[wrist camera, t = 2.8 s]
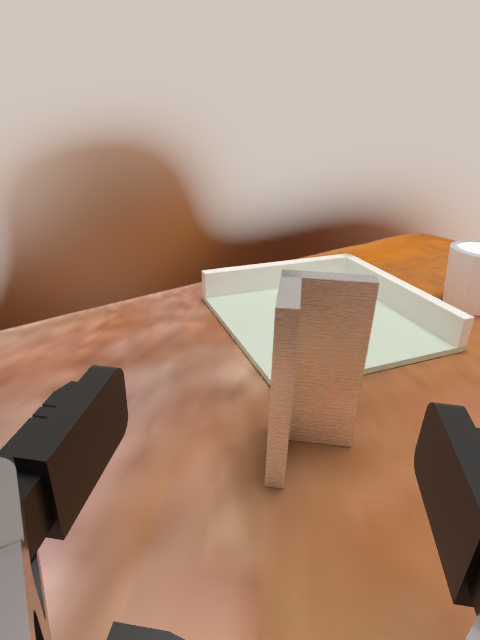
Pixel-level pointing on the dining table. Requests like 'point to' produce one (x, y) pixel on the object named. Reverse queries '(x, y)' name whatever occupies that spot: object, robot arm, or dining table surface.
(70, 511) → the robot arm
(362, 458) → the dining table surface
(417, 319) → the arena
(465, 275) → the white cup
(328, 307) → the bracket
